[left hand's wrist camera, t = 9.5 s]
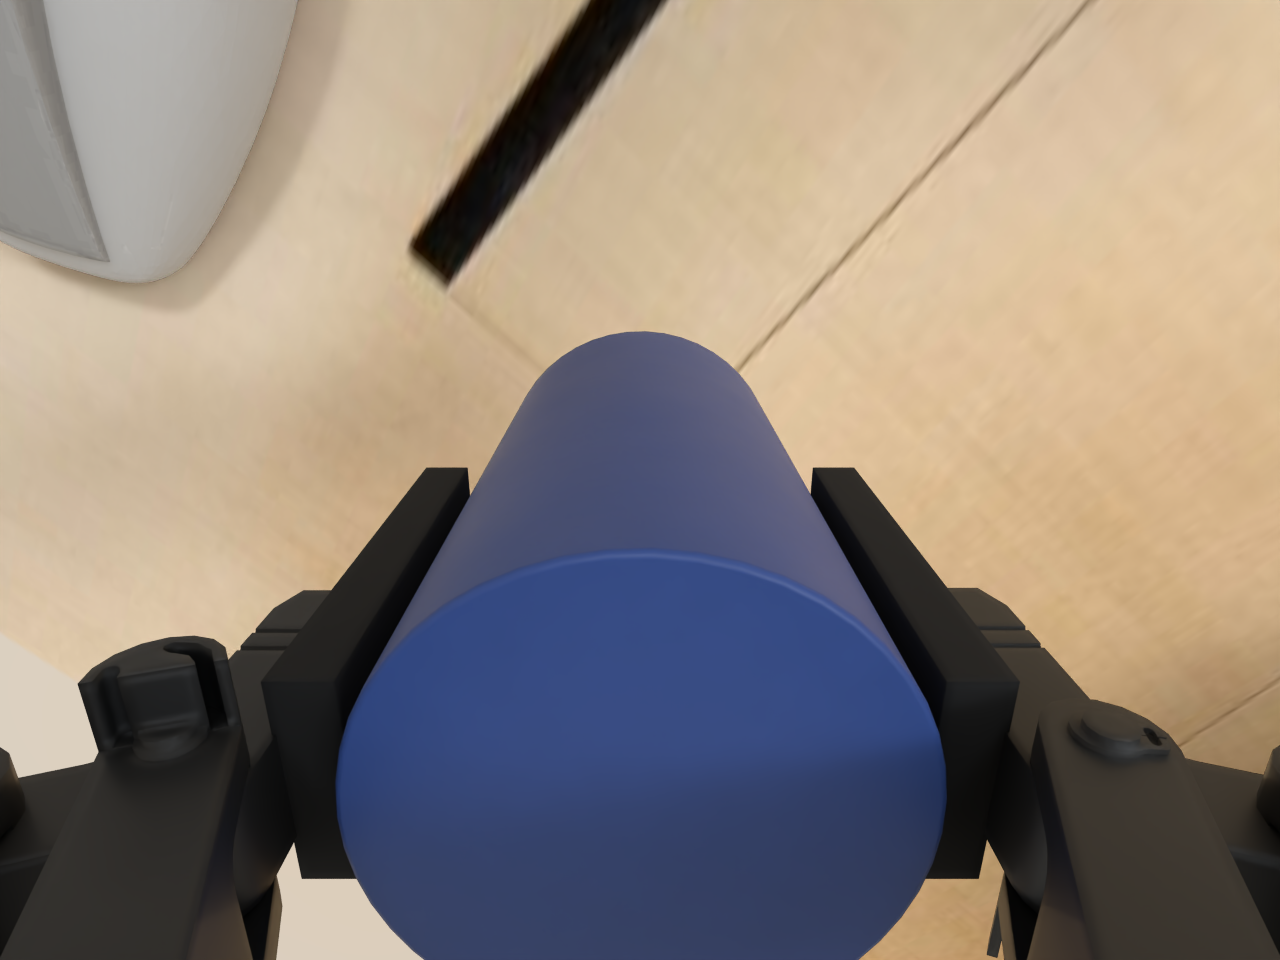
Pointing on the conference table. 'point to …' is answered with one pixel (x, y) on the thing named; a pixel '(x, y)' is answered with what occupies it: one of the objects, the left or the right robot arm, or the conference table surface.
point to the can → (640, 697)
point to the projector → (129, 124)
